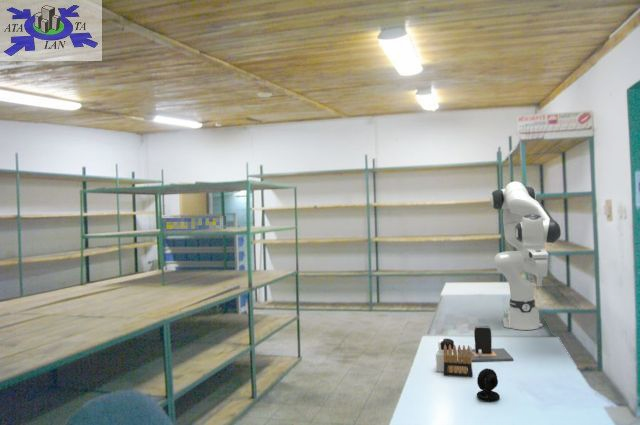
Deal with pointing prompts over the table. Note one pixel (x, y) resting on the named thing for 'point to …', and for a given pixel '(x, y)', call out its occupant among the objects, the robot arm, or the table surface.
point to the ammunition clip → (457, 362)
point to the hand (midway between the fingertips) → (535, 284)
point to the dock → (489, 355)
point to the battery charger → (483, 339)
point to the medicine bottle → (441, 353)
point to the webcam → (487, 385)
